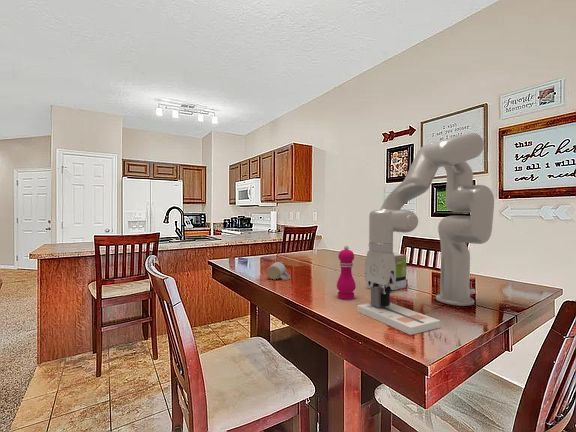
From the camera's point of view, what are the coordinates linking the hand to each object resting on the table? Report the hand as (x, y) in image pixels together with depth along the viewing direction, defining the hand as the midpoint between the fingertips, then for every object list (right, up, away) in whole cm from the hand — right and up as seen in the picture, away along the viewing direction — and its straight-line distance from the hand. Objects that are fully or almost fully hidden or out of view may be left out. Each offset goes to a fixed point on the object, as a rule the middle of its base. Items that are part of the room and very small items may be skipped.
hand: (380, 303), depth 103 cm
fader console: (+3, -3, -6) cm, 7 cm away
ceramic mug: (-35, -2, +50) cm, 61 cm away
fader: (0, -1, 0) cm, 1 cm away
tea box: (+12, -3, +33) cm, 35 cm away
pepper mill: (-8, -3, +18) cm, 20 cm away
